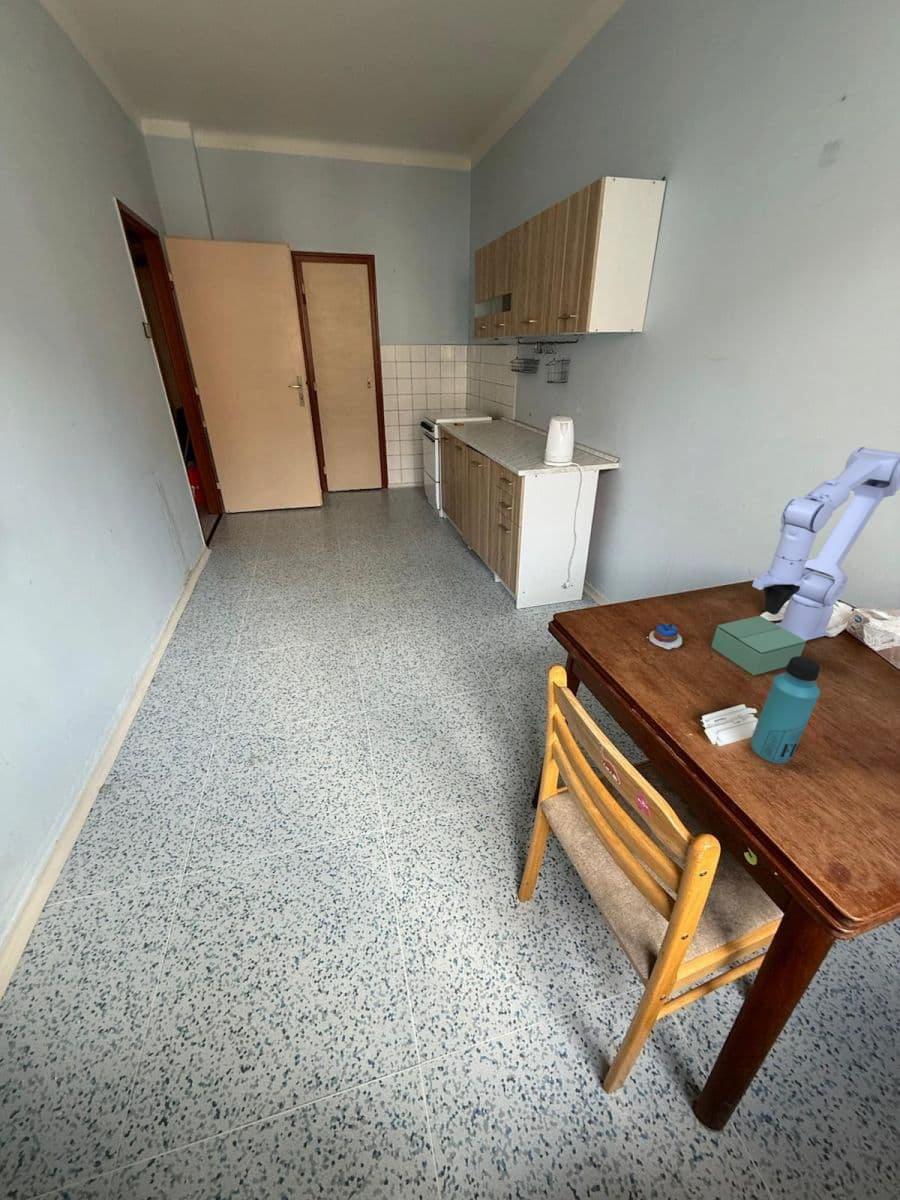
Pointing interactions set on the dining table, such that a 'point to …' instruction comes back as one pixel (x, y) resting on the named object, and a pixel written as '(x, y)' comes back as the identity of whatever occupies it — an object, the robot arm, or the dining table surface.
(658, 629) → the dessert
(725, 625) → the green storage box
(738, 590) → the dining table surface
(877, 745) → the dining table surface
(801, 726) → the beverage bottle
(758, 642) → the flap
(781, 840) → the dining table surface
